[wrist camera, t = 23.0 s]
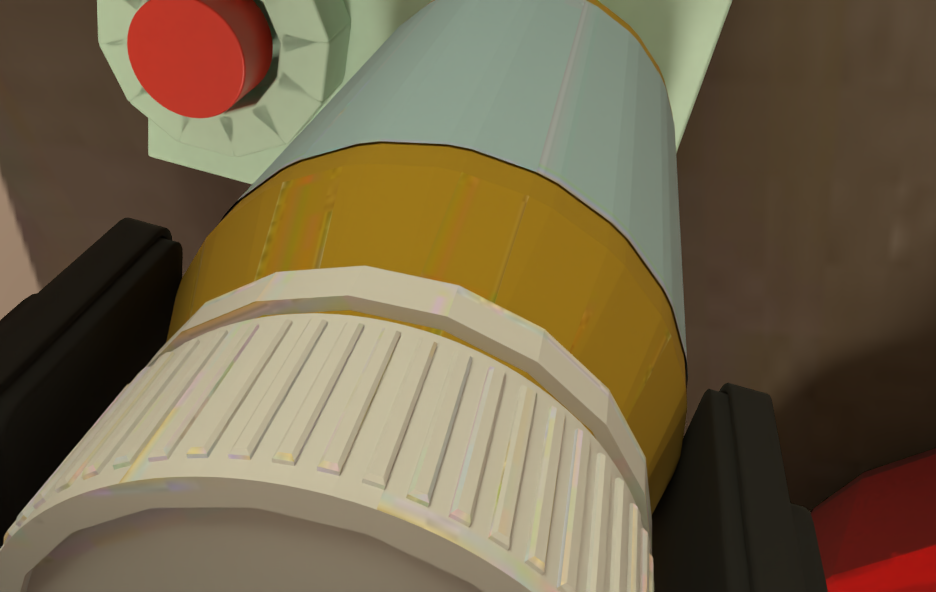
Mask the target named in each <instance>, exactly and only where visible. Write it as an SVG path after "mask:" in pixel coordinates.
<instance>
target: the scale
mask: <svg viewBox="0 0 936 592" xmlns="http://www.w3.org/2000/svg"><path fill="white" fill-rule="evenodd" d="M148 1H149V0H97V15H98V42H99V45H100V47H101V49H102V51H103V53H104V55H105V57H106V59H107V61H108V63H109V65H110V67H111V69H112V71H113V73H114V74H115V76H116V78H117V80H118V82H119V84H120V86H121V88H122V90H123V92H124V94H125V96H126V98H127V100H128V101H130V103H131V104H132V105H133V106H135V107H136V108H137V109H138V110H139V111H141V112H142V113H143V114H144V115H145V116H147V117H148V155H149V156H150V157H153V158H157V159H161V160H164V161H168V162H172V163H176V164H179V165H183V166H187V167H190V168H194V169H198V170H201V171H205V172H209V173H212V174H216V175H220V176H223V177H227V178H231V179H234V180H238V181H242V182H245V183H249V184H253V183H254V182H255V181H256V180H257V179H258V178H259V177H260V176H261V175H262V174H263V172H264V171H265V170H266V169H267V168H268V167H269V166H270V165H271V164H272V163H273V162H274V161H275V160H276V158H277V157H278V156H279V155H280V154H281V153H282V152H283V151H284V150H285V149H286V148H287V147H288V146H289V144H290V143H291V142H292V141H293V140H294V139H295V138H296V137H297V136H298V135H299V134H300V133H301V132H302V130H303V129H304V128H305V127H306V126H307V125H308V124H309V123H310V122H311V121H312V120H313V119H314V118H315V116H316V115H317V114H318V113H319V112H320V111H321V110H322V109H323V108H324V107H325V106H326V105H327V104H328V102H329V101H330V100H331V99H332V98H333V97H334V96H335V95H336V94H337V93H338V92H339V91H340V90H341V88H342V87H343V86H344V85H345V84H346V83H347V82H348V81H349V80H350V79H351V78H352V77H353V76H354V74H355V73H356V72H357V71H358V70H359V69H360V68H361V67H362V66H363V65H364V64H365V63H366V62H367V60H368V59H369V58H370V57H371V56H372V55H373V54H374V53H375V52H376V51H377V50H378V49H379V48H380V46H381V45H382V44H383V43H384V42H385V41H386V40H387V39H388V38H389V37H390V36H391V35H392V34H393V32H394V31H395V30H396V29H397V28H398V27H399V26H400V25H402V24H403V23H404V22H405V21H406V20H408V19H409V18H410V17H411V16H413V15H414V14H415V13H417V12H418V11H419V10H420V9H422V8H423V7H424V6H426V5H427V4H428V3H430V2H431V1H432V0H253V1H254V2H255V3H256V4H257V5H258V7H259V8H260V10H261V11H262V13H263V14H264V16H265V18H266V20H267V22H268V25H269V28H270V31H271V36H272V42H273V55H272V61H271V64H270V68H269V70H268V72H267V74H266V75H265V77H264V78H263V80H262V81H261V82H260V83H259V84H258V85H257V86H256V87H254V88H253V89H252V90H251V91H250V92H248V93H247V94H246V95H245V96H244V97H242V98H241V99H240V100H239V101H238V102H237V103H235V104H234V105H233V106H232V107H231V108H229V109H228V110H227V111H225V112H223V113H222V114H219V115H217V116H214V117H209V118H190V117H186V116H182V115H179V114H176V113H174V112H172V111H170V110H168V109H167V108H165V107H163V106H162V105H160V104H159V103H158V102H156V101H155V100H154V99H153V98H152V97H151V96H150V95H149V94H148V93H147V92H146V90H145V89H144V88H143V87H142V85H141V84H140V82H139V81H138V79H137V77H136V75H135V73H134V71H133V69H132V66H131V63H130V60H129V55H128V49H127V36H128V30H129V26H130V23H131V21H132V19H133V17H134V15H135V13H136V12H137V11H138V9H139V8H140V7H141V6H142V5H143V4H144V3H146V2H148ZM598 1H600V2H601V3H602V4H603V5H605V6H606V7H607V8H608V9H610V10H611V11H612V12H613V13H615V14H616V15H617V16H619V17H620V18H621V19H622V20H624V21H625V22H626V23H627V24H629V25H630V26H631V27H632V29H633V30H634V31H635V32H636V33H637V34H638V35H639V37H640V38H641V40H642V41H643V43H644V44H645V46H646V48H647V49H648V51H649V52H650V54H651V55H652V57H653V58H654V60H655V62H656V63H657V65H658V66H659V68H660V71H661V73H662V75H663V78H664V81H665V85H666V89H667V93H668V97H669V101H670V106H671V110H672V114H673V120H674V125H675V142H676V153H677V150H678V147H679V145H680V142H681V139H682V136H683V134H684V131H685V128H686V125H687V123H688V120H689V117H690V115H691V112H692V109H693V106H694V104H695V101H696V98H697V96H698V93H699V90H700V87H701V85H702V82H703V79H704V76H705V74H706V71H707V68H708V66H709V63H710V60H711V57H712V55H713V52H714V49H715V47H716V44H717V41H718V38H719V36H720V33H721V30H722V27H723V25H724V22H725V19H726V17H727V14H728V11H729V8H730V6H731V3H732V0H598Z"/></svg>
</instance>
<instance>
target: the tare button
mask: <svg viewBox="0 0 936 592" xmlns="http://www.w3.org/2000/svg"><path fill="white" fill-rule="evenodd" d="M127 49H128V55H129V60H130V63H131V66H132V69H133V71H134V73H135V75H136V77H137V79H138V81H139V82H140V84H141V85H142V87H143V88H144V89H145V90H146V92H147V93H148V94H149V95H150V96H151V97H152V98H153V99H154V100H155V101H156V102H158V103H159V104H160V105H162V106H163V107H165V108H167V109H168V110H170V111H172V112H174V113H176V114H179V115H182V116H186V117H190V118H209V117H214V116H217V115H219V114H222V113H223V112H225V111H227V110H228V109H229V108H231V107H232V106H233V105H234V104H235V103H237V102H238V101H239V100H240V99H241V98H242V97H244V96H245V95H246V94H247V93H248V92H250V91H251V90H252V89H253V88H254V87H256V86H257V85H258V84H259V83H260V82H261V81H262V80H263V78H264V77H265V75H266V74H267V72H268V70H269V68H270V64H271V61H272V55H273V42H272V36H271V31H270V28H269V25H268V22H267V20H266V18H265V16H264V14H263V13H262V11H261V10H260V8H259V7H258V5H257V4H256V3H255V2H254V1H253V0H149V1H148V2H146V3H144V4H143V5H142V6H141V7H140V8H139V9H138V11H137V12H136V13H135V15H134V17H133V19H132V21H131V23H130V26H129V30H128V36H127Z"/></svg>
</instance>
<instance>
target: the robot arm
mask: <svg viewBox="0 0 936 592" xmlns="http://www.w3.org/2000/svg"><path fill="white" fill-rule="evenodd" d="M181 279H182V247H181V244H180V243H179V242H175V241H172V236H171V233H170V231H169V230H168V229H167V228H164V227H161V226H157V225H153V224H150V223H146V222H142V221H139V220H135V219H132V218H124V219H122V220H121V221H119V222H118V223H117V224H116V225H115V226H114V227H112V228H111V229H110V230H109V231H108V232H107V233H106V234H104V235H103V236H102V237H101V238H100V239H99V240H98V241H96V242H95V243H94V244H93V245H92V246H91V247H90V248H89V249H87V250H86V251H85V252H84V253H83V254H82V255H81V256H79V257H78V258H77V259H76V260H75V261H74V262H73V263H71V264H70V265H69V266H68V267H67V268H66V269H65V270H64V271H62V272H61V273H60V274H59V275H58V276H57V277H56V278H54V279H53V280H52V281H51V282H50V283H49V284H48V285H46V286H45V287H44V288H43V289H42V290H41V291H40V292H39V293H37V294H32V295H31V296H29V297H28V298H26V299H25V300H23V301H22V302H21V303H20V304H18V305H17V306H16V307H15V308H14V309H13V310H12V311H10V312H9V313H8V314H7V315H6V316H5V317H4V318H2V319H1V320H0V548H1V547H2V546H3V542H4V536H5V534H6V532H7V530H8V529H9V528H10V527H11V526H12V524H13V523H14V522H15V521H16V519H17V516H18V515H19V514H20V512H21V511H22V510H23V509H24V508H25V506H26V505H27V504H28V503H29V502H30V500H31V499H32V498H33V497H34V496H35V494H36V493H37V492H38V491H39V490H40V488H41V487H42V486H43V485H44V484H45V482H46V481H47V480H48V479H49V478H50V476H51V475H52V474H53V473H54V472H55V470H56V469H57V468H58V467H59V466H60V464H61V463H62V462H63V461H64V460H65V458H66V457H67V456H68V455H69V454H70V452H71V451H72V450H73V449H74V448H75V446H76V445H77V444H78V443H79V442H80V440H81V439H82V438H83V437H84V436H85V434H86V433H87V432H88V431H89V430H90V428H91V427H92V426H93V425H94V424H95V422H96V421H97V420H98V419H99V418H100V416H101V415H102V414H103V413H104V412H105V410H106V409H107V408H108V407H109V406H110V404H111V403H112V402H113V401H114V400H115V398H116V397H117V396H118V395H119V394H120V392H121V391H122V390H123V389H124V388H125V386H126V385H127V384H130V383H131V382H132V380H133V379H134V378H135V377H136V376H137V374H138V373H139V372H140V371H141V370H142V369H144V368H145V367H146V365H147V364H148V363H149V362H150V361H151V359H152V358H153V357H154V356H155V355H156V353H157V352H158V351H159V350H160V349H161V348H162V347H163V345H164V344H165V343H166V341H167V336H168V331H169V326H170V322H171V317H172V312H173V307H174V302H175V297H176V294H177V291H178V288H179V285H180V282H181ZM652 557H653V563H654V592H828V589H827V584H826V580H825V575H824V570H823V565H822V560H821V555H820V551H819V546H818V541H817V536H816V531H815V526H814V522H813V519H812V516H811V513H810V512H809V511H808V510H807V509H806V508H805V507H802V506H799V505H795V504H792V503H790V498H789V492H788V487H787V481H786V476H785V470H784V465H783V459H782V454H781V448H780V443H779V437H778V432H777V426H776V421H775V415H774V410H773V404H772V400H771V397H770V395H768V394H766V393H763V392H759V391H755V390H752V389H748V388H744V387H741V386H737V385H734V384H730V383H726V384H724V385H723V387H722V388H721V389H720V391H719V392H718V391H714V390H711V389H708V390H707V391H706V392H705V393H704V395H703V397H702V399H701V401H700V403H699V406H698V408H697V410H696V412H695V414H694V416H693V418H692V421H691V423H690V425H689V427H688V429H687V431H686V434H685V436H684V438H683V441H682V448H681V455H680V459H679V461H678V464H677V466H676V469H675V472H674V474H673V476H672V478H671V480H670V482H669V484H668V486H667V487H666V489H665V491H664V493H663V495H662V497H661V499H660V501H659V502H658V504H657V506H656V508H655V510H654V512H653V514H652Z"/></svg>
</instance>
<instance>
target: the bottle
mask: <svg viewBox="0 0 936 592" xmlns="http://www.w3.org/2000/svg"><path fill="white" fill-rule="evenodd" d="M687 381H688V371H687V352H686V333H685V314H684V295H683V276H682V257H681V238H680V218H679V199H678V180H677V161H676V142H675V125H674V120H673V114H672V110H671V106H670V101H669V97H668V93H667V89H666V85H665V81H664V78H663V75H662V73H661V71H660V68H659V66H658V65H657V63H656V62H655V60H654V58H653V57H652V55H651V54H650V52H649V51H648V49H647V48H646V46H645V44H644V43H643V41H642V40H641V38H640V37H639V35H638V34H637V33H636V32H635V31H634V30H633V29H632V27H631V26H630V25H629V24H627V23H626V22H625V21H624V20H622V19H621V18H620V17H619V16H617V15H616V14H615V13H613V12H612V11H611V10H610V9H608V8H607V7H606V6H605V5H603V4H602V3H601V2H600V1H598V0H432V1H431V2H430V3H428V4H427V5H426V6H424V7H423V8H422V9H420V10H419V11H418V12H417V13H415V14H414V15H413V16H411V17H410V18H409V19H408V20H406V21H405V22H404V23H403V24H402V25H400V26H399V27H398V28H397V29H396V30H395V31H394V32H393V34H392V35H391V36H390V37H389V38H388V39H387V40H386V41H385V42H384V43H383V44H382V45H381V46H380V48H379V49H378V50H377V51H376V52H375V53H374V54H373V55H372V56H371V57H370V58H369V59H368V60H367V62H366V63H365V64H364V65H363V66H362V67H361V68H360V69H359V70H358V71H357V72H356V73H355V74H354V76H353V77H352V78H351V79H350V80H349V81H348V82H347V83H346V84H345V85H344V86H343V87H342V88H341V90H340V91H339V92H338V93H337V94H336V95H335V96H334V97H333V98H332V99H331V100H330V101H329V102H328V104H327V105H326V106H325V107H324V108H323V109H322V110H321V111H320V112H319V113H318V114H317V115H316V116H315V118H314V119H313V120H312V121H311V122H310V123H309V124H308V125H307V126H306V127H305V128H304V129H303V130H302V132H301V133H300V134H299V135H298V136H297V137H296V138H295V139H294V140H293V141H292V142H291V143H290V144H289V146H288V147H287V148H286V149H285V150H284V151H283V152H282V153H281V154H280V155H279V156H278V157H277V158H276V160H275V161H274V162H273V163H272V164H271V165H270V166H269V167H268V168H267V169H266V170H265V171H264V172H263V174H262V175H261V176H260V177H259V178H258V179H257V180H256V181H255V182H254V183H253V184H252V185H251V186H250V188H249V189H248V190H247V191H246V192H245V193H244V194H243V195H242V196H241V197H240V198H239V199H238V200H237V202H236V203H235V204H234V205H233V206H232V207H231V208H230V209H229V210H228V211H227V213H226V214H225V215H224V216H223V218H222V220H221V221H220V223H219V224H218V226H217V227H216V228H215V229H214V230H213V231H212V232H211V233H210V234H209V235H208V236H207V238H206V239H205V241H204V242H203V244H202V246H201V248H200V249H199V251H198V253H197V254H196V256H195V258H194V259H193V261H192V263H191V264H190V266H189V268H188V269H187V271H186V273H185V274H184V276H183V278H182V279H181V282H180V285H179V288H178V291H177V294H176V297H175V302H174V307H173V312H172V317H171V322H170V326H169V331H168V336H167V341H166V343H165V344H164V345H163V347H162V348H161V349H160V350H159V351H158V352H157V353H156V355H155V356H154V357H153V358H152V359H151V361H150V362H149V363H148V364H147V365H146V367H145V368H144V369H142V370H141V371H140V372H139V373H138V374H137V376H136V377H135V378H134V379H133V380H132V382H131V383H130V384H127V385H126V386H125V388H124V389H123V390H122V391H121V392H120V394H119V395H118V396H117V397H116V398H115V400H114V401H113V402H112V403H111V404H110V406H109V407H108V408H107V409H106V410H105V412H104V413H103V414H102V415H101V416H100V418H99V419H98V420H97V421H96V422H95V424H94V425H93V426H92V427H91V428H90V430H89V431H88V432H87V433H86V434H85V436H84V437H83V438H82V439H81V440H80V442H79V443H78V444H77V445H76V446H75V448H74V449H73V450H72V451H71V452H70V454H69V455H68V456H67V457H66V458H65V460H64V461H63V462H62V463H61V464H60V466H59V467H58V468H57V469H56V470H55V472H54V473H53V474H52V475H51V476H50V478H49V479H48V480H47V481H46V482H45V484H44V485H43V486H42V487H41V488H40V490H39V491H38V492H37V493H36V494H35V496H34V497H33V498H32V499H31V500H30V502H29V503H28V504H27V505H26V506H25V508H24V509H23V510H22V511H21V512H20V514H19V515H18V516H17V519H16V521H15V522H14V523H13V524H12V526H11V527H10V528H9V529H8V530H7V532H6V534H5V536H4V542H3V546H2V547H1V548H0V592H654V563H653V557H652V514H653V512H654V510H655V508H656V506H657V504H658V502H659V501H660V499H661V497H662V495H663V493H664V491H665V489H666V487H667V486H668V484H669V482H670V480H671V478H672V476H673V474H674V472H675V469H676V466H677V464H678V461H679V459H680V455H681V448H682V441H683V434H684V426H685V419H686V412H687V396H686V389H687Z"/></svg>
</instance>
